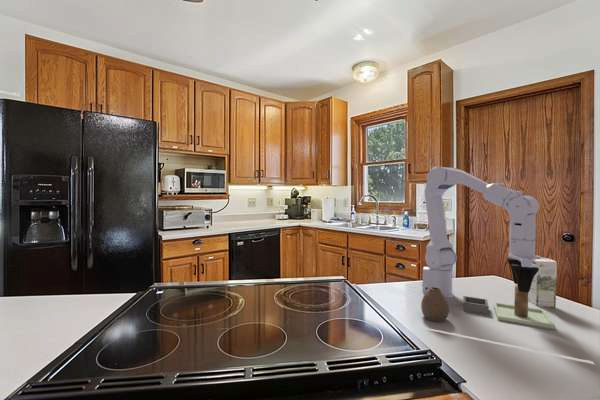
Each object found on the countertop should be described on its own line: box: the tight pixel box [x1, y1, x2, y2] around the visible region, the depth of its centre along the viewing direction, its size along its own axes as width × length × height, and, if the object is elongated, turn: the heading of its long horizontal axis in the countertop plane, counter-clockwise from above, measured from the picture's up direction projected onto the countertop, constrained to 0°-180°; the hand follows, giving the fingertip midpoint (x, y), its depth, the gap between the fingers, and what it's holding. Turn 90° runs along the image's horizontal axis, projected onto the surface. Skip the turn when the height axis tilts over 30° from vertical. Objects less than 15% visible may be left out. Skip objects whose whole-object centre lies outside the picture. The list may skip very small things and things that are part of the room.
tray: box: [492, 301, 556, 331], centre depth 81 cm, size 12×12×2 cm
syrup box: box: [528, 257, 558, 309], centre depth 92 cm, size 6×6×14 cm
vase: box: [420, 287, 450, 323], centre depth 80 cm, size 7×7×9 cm
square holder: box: [462, 295, 490, 316], centre depth 87 cm, size 6×6×3 cm
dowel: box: [513, 284, 529, 318], centre depth 81 cm, size 3×3×8 cm
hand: (521, 287), depth 81 cm, fingers open, 7 cm apart
